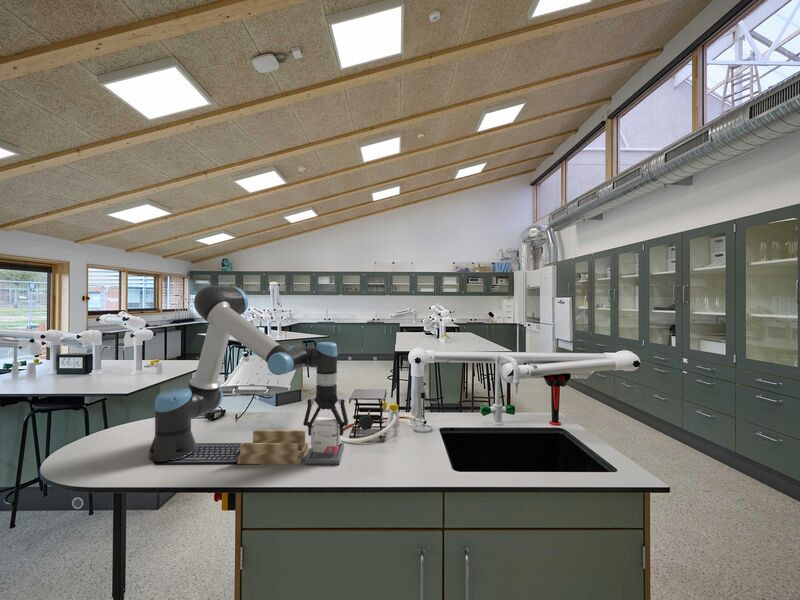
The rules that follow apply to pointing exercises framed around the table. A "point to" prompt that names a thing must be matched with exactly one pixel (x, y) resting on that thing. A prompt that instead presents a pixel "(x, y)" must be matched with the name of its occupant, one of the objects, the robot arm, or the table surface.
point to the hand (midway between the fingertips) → (325, 443)
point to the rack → (274, 447)
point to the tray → (324, 457)
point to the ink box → (325, 435)
